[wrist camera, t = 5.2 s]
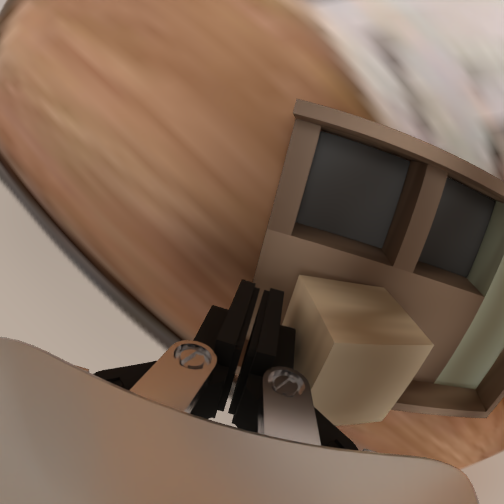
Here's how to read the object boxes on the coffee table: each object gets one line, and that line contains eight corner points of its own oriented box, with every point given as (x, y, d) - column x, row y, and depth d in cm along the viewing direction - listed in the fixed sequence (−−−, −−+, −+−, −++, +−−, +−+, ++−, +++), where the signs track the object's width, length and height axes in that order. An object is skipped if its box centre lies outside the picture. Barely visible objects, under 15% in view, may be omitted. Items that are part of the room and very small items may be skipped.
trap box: (538, 216, 12) (585, 239, 7) (463, 371, 16) (486, 418, 11) (300, 113, 13) (296, 98, 9) (246, 318, 17) (225, 370, 13)
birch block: (384, 287, 12) (434, 345, 9) (349, 358, 14) (381, 421, 10) (299, 274, 12) (334, 342, 8) (271, 354, 13) (289, 428, 9)
